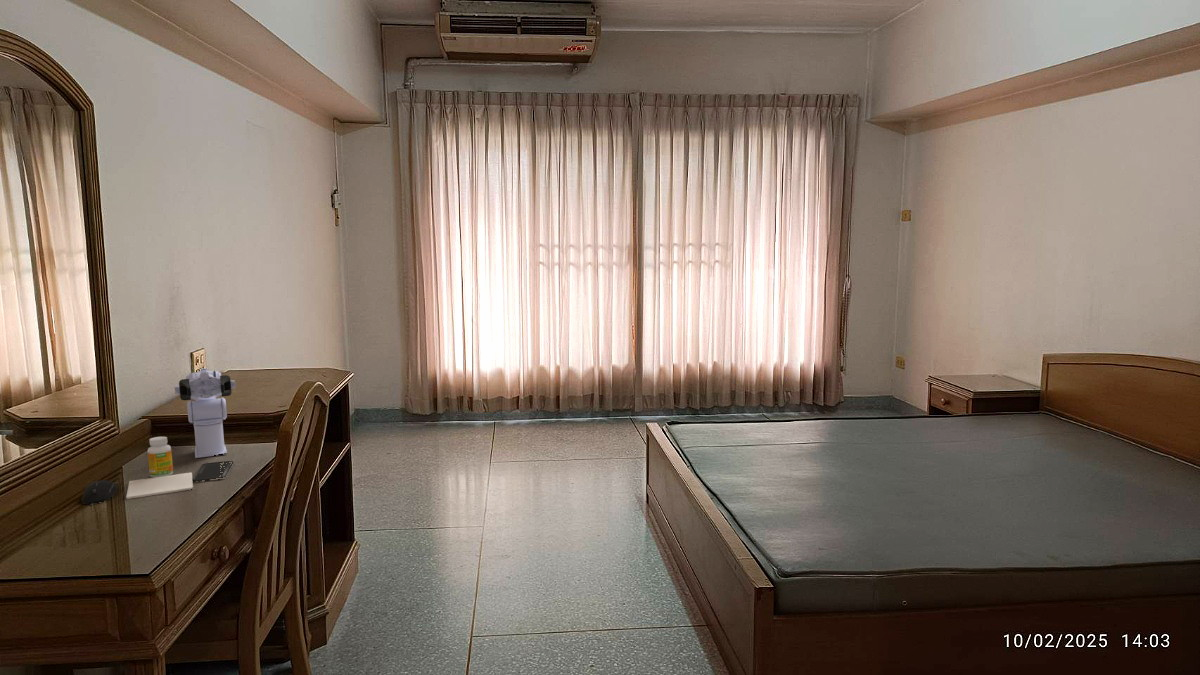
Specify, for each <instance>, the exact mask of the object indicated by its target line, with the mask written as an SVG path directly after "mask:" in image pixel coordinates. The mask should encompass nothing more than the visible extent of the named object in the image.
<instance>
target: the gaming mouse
mask: <svg viewBox="0 0 1200 675" xmlns="http://www.w3.org/2000/svg"><path fill="white" fill-rule="evenodd" d="M117 492H118V485H117V483H116V482H114V481H109V480H106V479H103V480H95V481H93V482H91V483H89V484H87V485H86V487H85V489H84V492H83V495H82V498H81V503H82V502H83V503H86V504H85V505H93V504H94V503H97V504H100V503H99V502H102V503H104V501H105V502H107V501H110V499H112V498H111V497H114V495H116V493H117ZM106 500H107V501H106ZM83 503H82V504H83ZM94 505H95V504H94ZM94 505H93V506H94Z"/></svg>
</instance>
